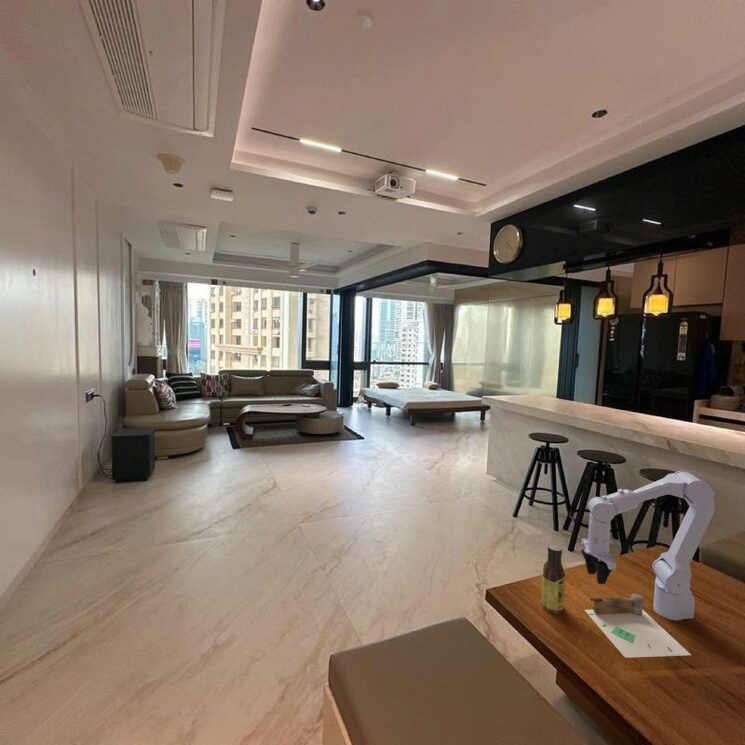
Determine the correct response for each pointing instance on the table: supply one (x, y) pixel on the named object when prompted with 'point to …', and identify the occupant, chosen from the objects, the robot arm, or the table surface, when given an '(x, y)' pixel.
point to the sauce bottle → (553, 581)
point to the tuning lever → (619, 605)
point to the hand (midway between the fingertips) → (596, 578)
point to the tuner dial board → (637, 635)
